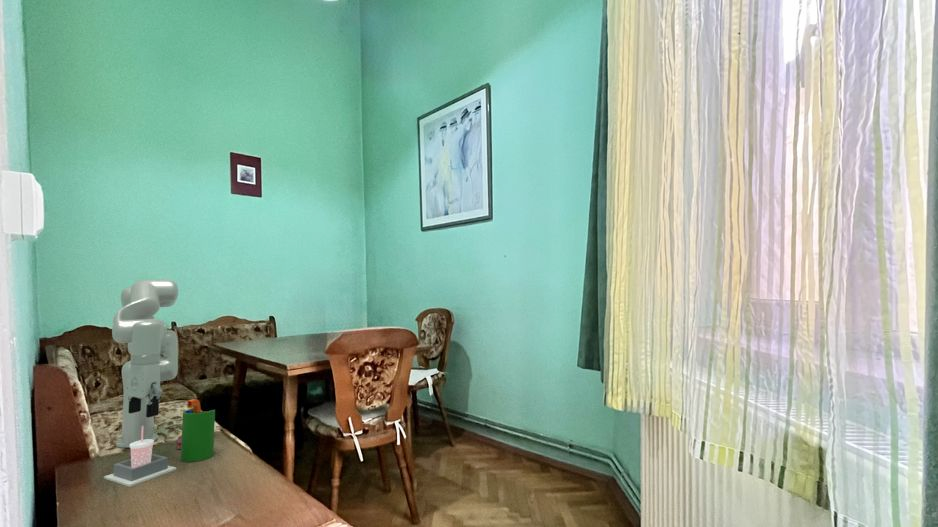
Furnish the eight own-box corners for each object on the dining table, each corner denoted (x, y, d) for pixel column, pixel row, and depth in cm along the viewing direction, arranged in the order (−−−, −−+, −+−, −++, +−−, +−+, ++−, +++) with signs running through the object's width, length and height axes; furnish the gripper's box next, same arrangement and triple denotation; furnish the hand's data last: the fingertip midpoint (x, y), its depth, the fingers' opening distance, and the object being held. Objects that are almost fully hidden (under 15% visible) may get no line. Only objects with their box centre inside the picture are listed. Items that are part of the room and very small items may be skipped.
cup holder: (103, 478, 128) (104, 465, 128) (150, 462, 139) (151, 450, 140) (129, 486, 122) (130, 472, 122) (176, 469, 134) (176, 456, 134)
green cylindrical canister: (219, 452, 148) (221, 395, 149) (201, 462, 139) (203, 401, 140) (193, 451, 149) (195, 394, 150) (173, 461, 140) (175, 401, 141)
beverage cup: (142, 475, 128) (144, 429, 129) (123, 476, 128) (125, 429, 129) (157, 467, 134) (159, 423, 135) (139, 467, 134) (140, 423, 135)
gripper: (116, 359, 133) (114, 414, 132) (148, 364, 126) (145, 421, 125) (143, 356, 140) (141, 407, 139) (174, 360, 133) (172, 414, 132)
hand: (143, 414), depth 132 cm, fingers open, 9 cm apart
